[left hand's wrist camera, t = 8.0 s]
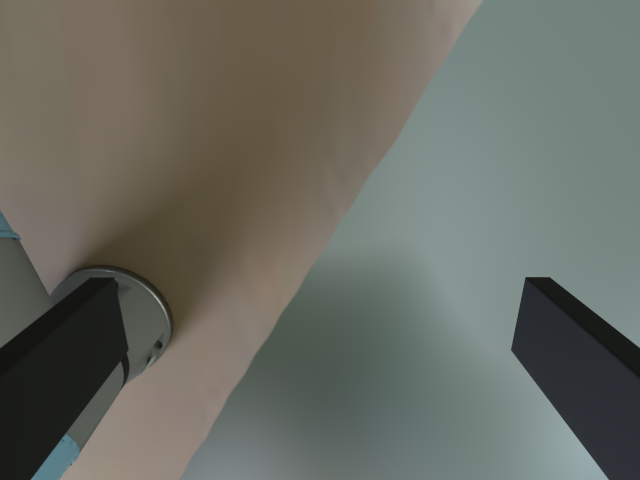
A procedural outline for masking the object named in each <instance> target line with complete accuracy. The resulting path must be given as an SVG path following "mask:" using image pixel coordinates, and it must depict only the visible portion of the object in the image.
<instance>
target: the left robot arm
mask: <svg viewBox="0 0 640 480" xmlns="http://www.w3.org/2000/svg"><path fill="white" fill-rule="evenodd" d="M20 239H21V238H20V236H19V235H18V234H16V233H14V232H13V230H12V229H11V227H10V225H9V224H8V222H7V221H6V219H5V217H4V216H3V214H2V213H1V211H0V480H59V479H60V478H61V476H62V475H63V474H64V472H65V471H66V470H67V469H68V467H69V466H70V465H72V464H73V463H74V462H75V461H76V460H77V458H78V456H79V453H80V452H81V450H82V449H83V447H84V446H85V444H86V443H87V441H88V440H89V438H90V437H91V435H92V434H93V432H94V430H95V429H96V427H97V426H98V424H99V423H100V421H101V420H102V418H103V417H104V415H105V414H106V412H107V411H108V409H109V408H110V406H111V405H112V403H113V401H114V400H115V398H116V397H117V395H118V394H119V392H120V391H121V389H122V388H123V386H124V385H125V384H126V383H128V382H129V381H131V380H132V379H134V378H135V377H136V376H138V375H139V374H141V373H142V374H143V373H145V372H146V371H147V369H148V368H149V367H151V366H152V365H153V364H154V363H155V362H156V361H157V360H158V359H159V358H160V357H161V356H162V354H163V353H164V351H165V349H166V348H167V346H168V344H169V342H170V340H171V337H172V332H173V319H172V314H171V311H170V308H169V306H168V304H167V302H166V300H165V299H164V297H163V296H162V294H161V293H160V292H159V291H158V290H157V289H156V288H155V287H154V286H153V285H152V284H151V283H150V282H148V281H147V280H146V279H144V278H143V277H141V276H139V275H137V274H136V273H133V272H131V271H128V270H125V269H122V268H118V267H113V266H94V267H88V268H85V269H82V270H80V271H77V272H76V273H74V274H72V275H71V276H69V277H68V278H67V279H65V280H64V281H62V282H61V283H60V284H59V285H58V286H57V287H56V289H55V290H54V291H53V292H52V293H51V295H50V296H49V295H48V293H47V291H46V289H45V287H44V285H43V283H42V282H41V280H40V278H39V276H38V274H37V272H36V270H35V269H34V267H33V265H32V263H31V261H30V259H29V257H28V256H27V254H26V252H25V250H24V248H23V246H22V244H21V243H20V241H19V240H20ZM511 351H512V352H513V353H514V355H515V356H516V357H517V359H518V360H519V361H520V363H521V364H522V365H523V366H524V368H525V369H526V370H527V372H528V373H529V374H530V376H531V377H532V378H533V380H534V381H535V382H536V384H537V385H538V386H539V388H540V389H541V390H542V392H543V393H544V394H545V396H546V397H547V398H548V399H549V401H550V402H551V404H552V405H553V406H554V407H555V409H556V410H557V411H558V413H559V414H560V415H561V417H562V418H563V419H564V421H565V422H566V423H567V425H568V426H569V427H570V429H571V430H572V431H573V433H574V434H575V435H576V437H577V438H578V439H579V441H580V442H581V443H582V445H583V446H584V447H585V449H586V450H587V451H588V453H589V454H590V455H591V456H592V458H593V459H594V460H595V462H596V463H597V464H598V466H599V467H600V468H601V470H602V471H603V472H604V474H605V475H606V476H607V478H608V479H609V480H640V348H639V347H638V346H636V345H635V344H634V343H633V342H631V341H630V340H629V339H628V338H626V337H625V336H624V335H622V334H621V333H620V332H619V331H617V330H616V329H615V328H614V327H612V326H611V325H610V324H608V323H607V322H606V321H605V320H603V319H602V318H601V317H600V316H598V315H597V314H596V313H594V312H593V311H592V310H591V309H589V308H588V307H587V306H586V305H584V304H583V303H582V302H580V301H579V300H578V299H577V298H575V297H574V296H573V295H571V294H570V293H569V292H568V291H566V290H565V289H564V288H563V287H561V286H560V285H559V284H557V283H556V282H555V281H554V280H552V279H551V278H550V277H526V278H525V283H524V288H523V293H522V298H521V303H520V308H519V313H518V318H517V323H516V328H515V333H514V338H513V343H512V348H511ZM142 374H141V375H142Z"/></svg>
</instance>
